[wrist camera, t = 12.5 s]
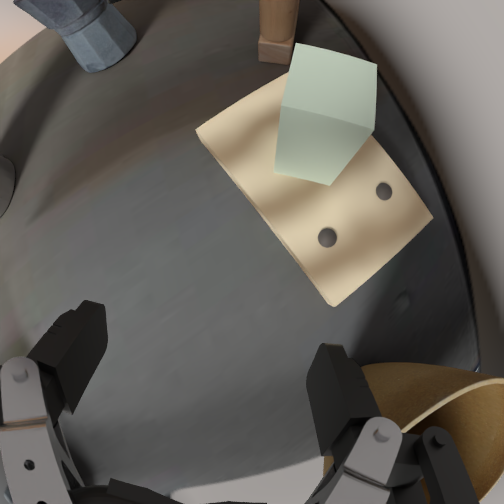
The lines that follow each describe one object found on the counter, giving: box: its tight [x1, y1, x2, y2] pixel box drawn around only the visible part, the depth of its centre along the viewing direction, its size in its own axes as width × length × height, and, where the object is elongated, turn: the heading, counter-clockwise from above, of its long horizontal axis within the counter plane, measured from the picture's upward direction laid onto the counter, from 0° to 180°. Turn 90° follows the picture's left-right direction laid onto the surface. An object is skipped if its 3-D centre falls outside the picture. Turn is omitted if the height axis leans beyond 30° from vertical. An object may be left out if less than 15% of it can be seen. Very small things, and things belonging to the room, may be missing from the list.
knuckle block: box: [274, 43, 377, 186], centre depth 19 cm, size 5×5×11 cm
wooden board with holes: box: [196, 72, 433, 307], centre depth 24 cm, size 20×13×6 cm, turn 37°
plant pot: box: [323, 362, 504, 504], centre depth 17 cm, size 15×15×16 cm
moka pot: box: [13, 0, 137, 73], centre depth 19 cm, size 10×15×20 cm, turn 88°
